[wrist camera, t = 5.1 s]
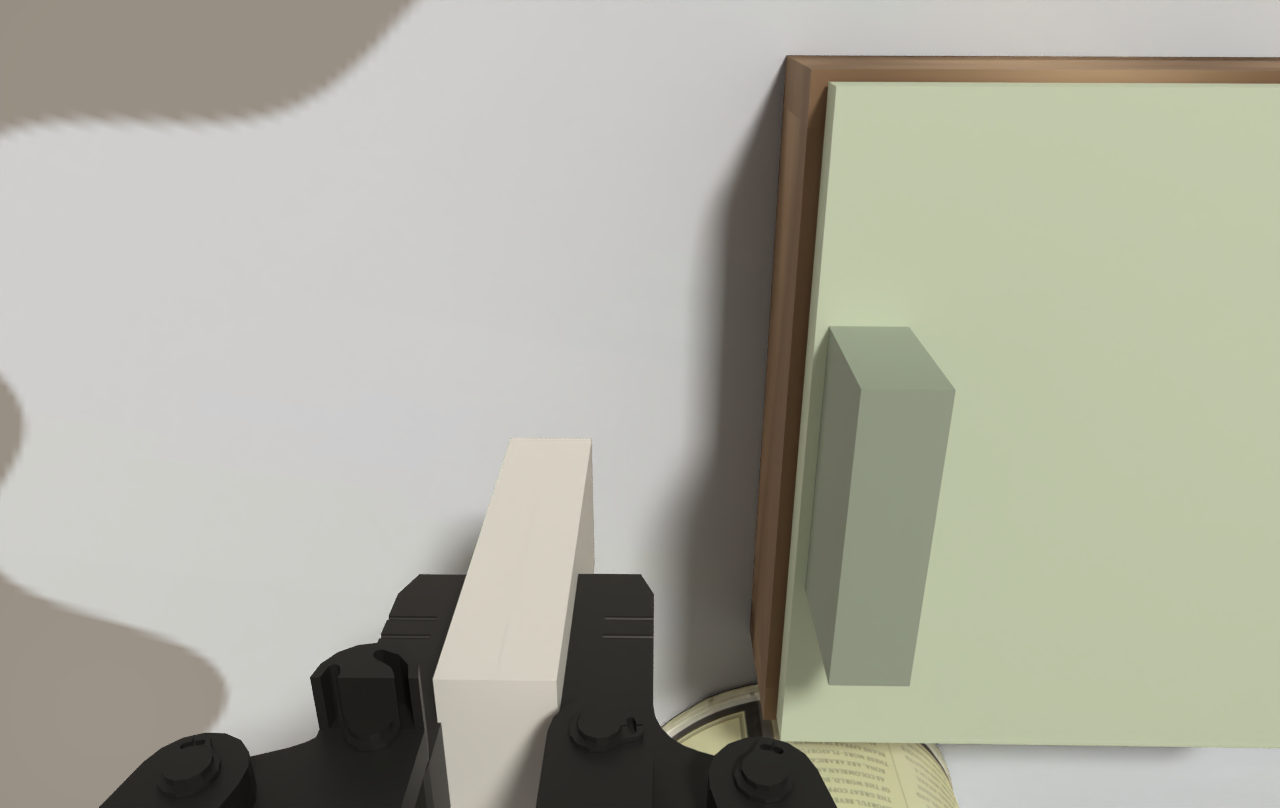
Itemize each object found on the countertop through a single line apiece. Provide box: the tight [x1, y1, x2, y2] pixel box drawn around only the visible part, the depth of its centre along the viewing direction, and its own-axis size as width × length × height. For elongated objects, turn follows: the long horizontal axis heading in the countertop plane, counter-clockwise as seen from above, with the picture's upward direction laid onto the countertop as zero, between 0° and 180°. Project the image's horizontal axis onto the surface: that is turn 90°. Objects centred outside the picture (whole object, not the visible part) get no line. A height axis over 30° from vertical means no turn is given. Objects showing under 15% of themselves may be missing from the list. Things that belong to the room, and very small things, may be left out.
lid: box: [776, 82, 1280, 748], centre depth 18 cm, size 14×15×4 cm
